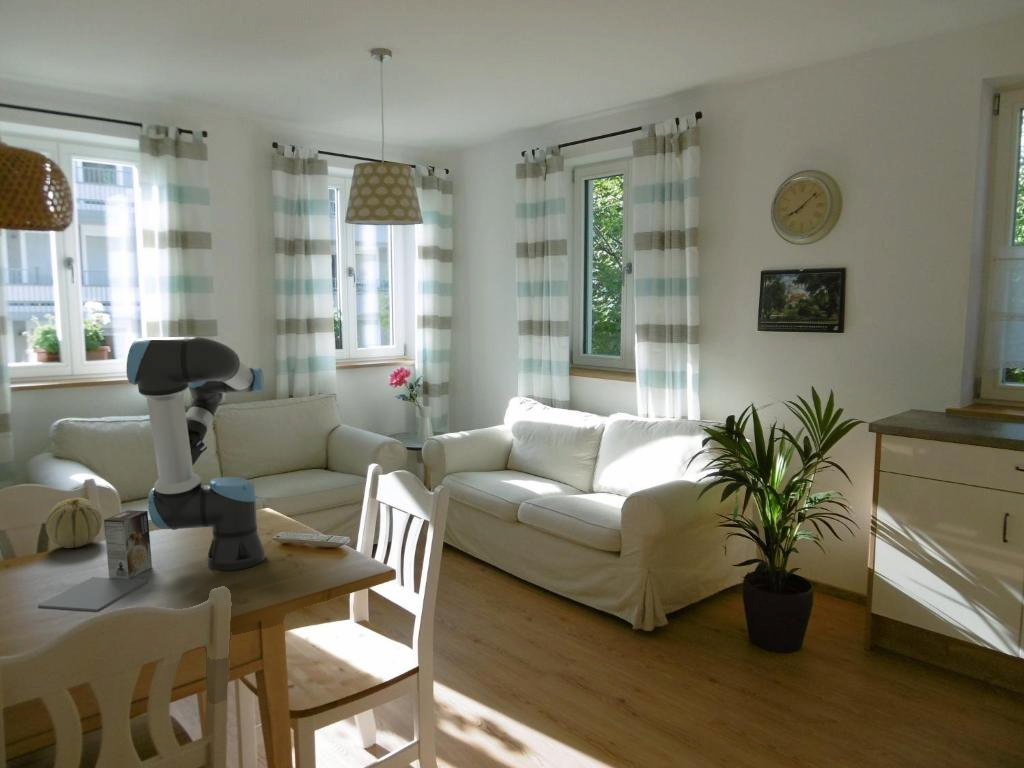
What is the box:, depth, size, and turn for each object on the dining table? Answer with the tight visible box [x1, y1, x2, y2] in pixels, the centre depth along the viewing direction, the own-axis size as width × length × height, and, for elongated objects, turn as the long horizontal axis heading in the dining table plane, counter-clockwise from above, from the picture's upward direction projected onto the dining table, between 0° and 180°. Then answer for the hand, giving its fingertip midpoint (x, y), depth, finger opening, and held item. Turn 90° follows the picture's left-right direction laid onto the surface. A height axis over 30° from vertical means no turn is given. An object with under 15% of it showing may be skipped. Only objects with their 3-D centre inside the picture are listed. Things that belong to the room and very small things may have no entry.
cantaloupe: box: [45, 497, 103, 549], centre depth 218 cm, size 15×15×15 cm
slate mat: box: [37, 576, 148, 612], centre depth 182 cm, size 16×18×1 cm
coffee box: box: [103, 509, 153, 579], centre depth 196 cm, size 9×6×16 cm
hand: (164, 491), depth 211 cm, fingers closed
